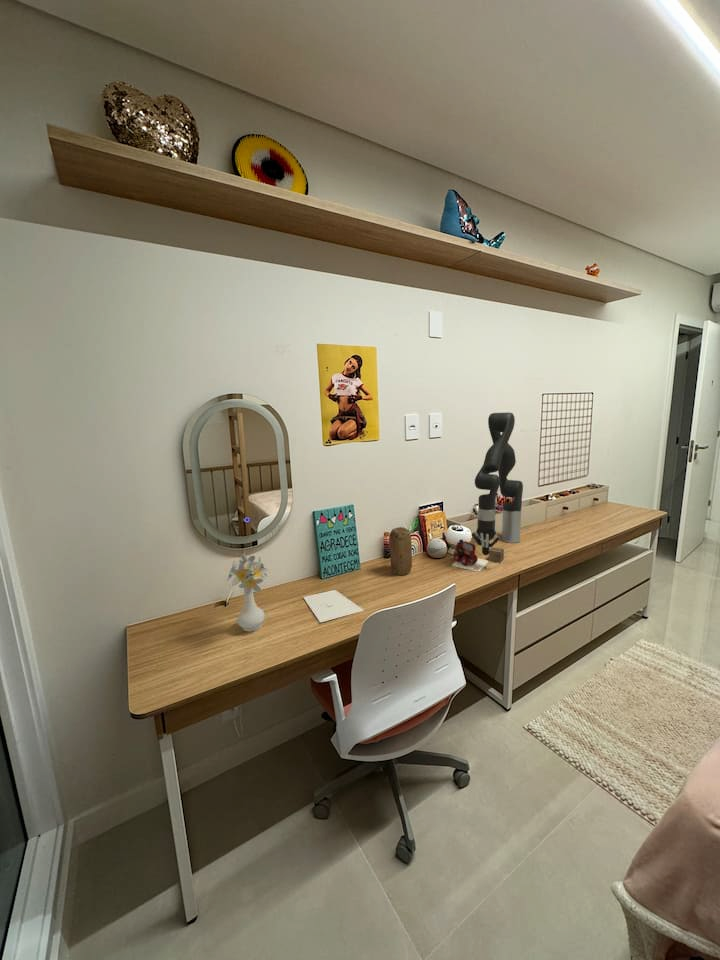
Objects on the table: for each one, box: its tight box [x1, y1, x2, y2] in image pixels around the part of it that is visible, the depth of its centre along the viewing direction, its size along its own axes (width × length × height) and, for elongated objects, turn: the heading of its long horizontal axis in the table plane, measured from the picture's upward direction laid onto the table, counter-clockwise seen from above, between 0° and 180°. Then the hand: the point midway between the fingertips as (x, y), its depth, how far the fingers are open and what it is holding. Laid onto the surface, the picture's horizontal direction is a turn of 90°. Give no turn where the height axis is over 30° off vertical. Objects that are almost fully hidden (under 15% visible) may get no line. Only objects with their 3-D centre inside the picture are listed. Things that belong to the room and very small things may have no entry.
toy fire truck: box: [453, 539, 479, 565], centre depth 175 cm, size 7×12×10 cm, turn 25°
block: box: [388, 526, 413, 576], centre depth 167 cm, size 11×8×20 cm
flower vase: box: [226, 553, 269, 633], centre depth 127 cm, size 13×18×25 cm
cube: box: [488, 546, 505, 564], centre depth 176 cm, size 6×6×6 cm
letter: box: [451, 558, 490, 573], centre depth 174 cm, size 14×13×1 cm
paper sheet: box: [302, 589, 365, 623], centre depth 144 cm, size 24×29×1 cm
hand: (485, 554), depth 169 cm, fingers closed
